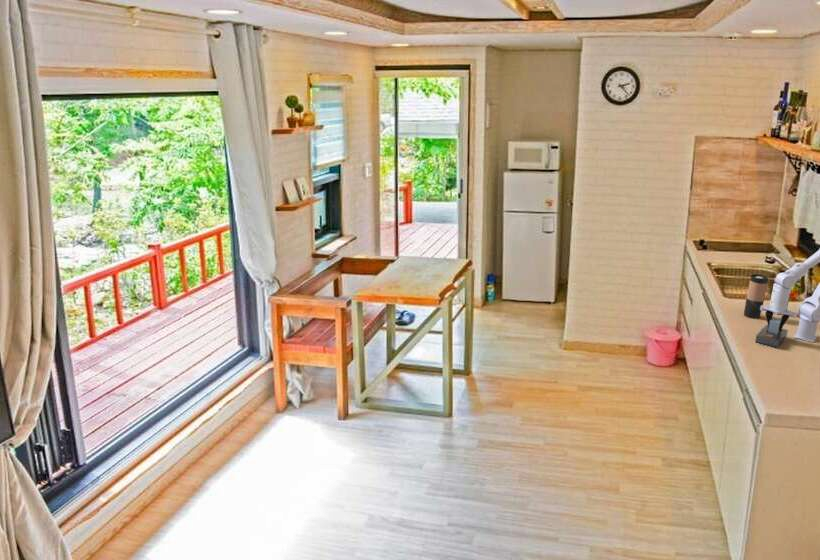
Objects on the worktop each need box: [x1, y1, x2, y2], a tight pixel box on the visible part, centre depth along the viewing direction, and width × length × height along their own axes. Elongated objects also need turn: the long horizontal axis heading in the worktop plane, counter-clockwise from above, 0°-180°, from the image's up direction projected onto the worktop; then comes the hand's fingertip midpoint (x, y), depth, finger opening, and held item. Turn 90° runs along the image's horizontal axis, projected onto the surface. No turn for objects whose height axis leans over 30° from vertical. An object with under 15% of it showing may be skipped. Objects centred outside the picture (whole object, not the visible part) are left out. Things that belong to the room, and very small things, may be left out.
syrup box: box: [769, 283, 792, 316], centre depth 358 cm, size 6×6×14 cm
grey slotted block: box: [754, 324, 789, 349], centre depth 321 cm, size 18×9×4 cm, turn 142°
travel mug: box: [743, 273, 769, 319], centre depth 349 cm, size 8×8×20 cm
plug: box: [768, 317, 781, 334], centre depth 322 cm, size 6×4×6 cm, turn 142°
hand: (774, 329), depth 322 cm, fingers closed on plug, 4 cm apart
